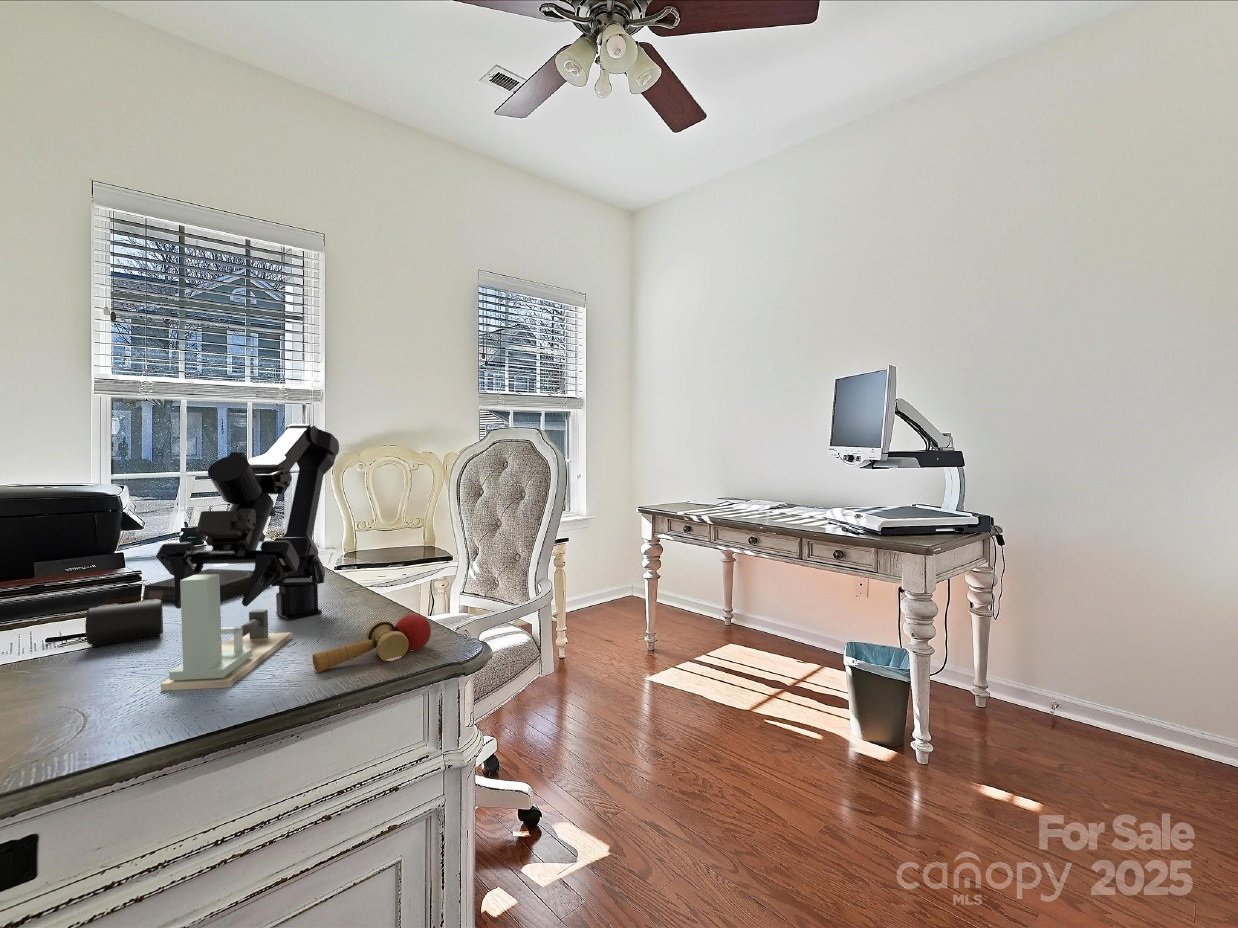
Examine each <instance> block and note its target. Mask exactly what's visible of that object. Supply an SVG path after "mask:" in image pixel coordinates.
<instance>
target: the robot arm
mask: <svg viewBox="0 0 1238 928" xmlns="http://www.w3.org/2000/svg"><path fill="white" fill-rule="evenodd" d="M339 451H340V444H339V440H338V438H336V437H335V435H333V434H332V433H330V432H329V431H325V430H323V429H319V428H318V427H317V426H316V425H314V424H313V425H312V424H311V423H297V424H296V423H291V424H288V425H286V427H285V430H284V433H283V434H281V436H280V437H279V438H278V439H277V440H276V442H274V444H273V445H272V446H271V447H270V448H269V450H267V452H266V453H264V454H261V455H258V456H255V457H251V458H249V460H248V458H247V455H246V453H245V451H230V453H229V455H228V456H225V457H222V458H219V459H218V460H216V461H215V462H214V463H213V464H210V465H209V467H208V469H207V475H208V477H209V479H210V481H211V482H212V484H213V486H214V487H215V489H216V491H217V492H218V494H219V495H220V497H221V498H222V500H223V501H224V502H226V503H227V504H230V505H231V506H230V509H229V510H202V511H201V512H200V515H199V519H198V523H197V527H196V533H197V534H198V535H199V534H201V535H203V536H205V537H206V539H205V544H207V545H208V546H210V547H212V549H211V550H198V548H196V546H195V545H194V544H193V542H191V541H190V542H168V543H167V542H166V543H163V544H162V545H161V546H160V547H159V550H158V551H157V553H156V555H155V557H156V559H157V560H158V561H159V562H160V563H161V565H162V566H163V567H164V568H165V569H166V570H167V571H168V573H169V574H170V575H172V576H173V578H174V581H175V588H174V603H173V604H174V607H175V608H176V609H180V610H181V588H180V580H183V579H185V578H188V577H190V576H193V575H197V574H198V573H200V572H201V571H203V567H204V565H212V564H213V565H215V564H216V565H217V564H221V565H222V564H228V565H245V564H246V565H252V564H254V569H253V571H254V572H253V574H252V576H251V579H250V581H249V583H248V586H247V588H246V591H245V593H244V595H242V596H243V597H242V600H241V604H242V606H243V607H248V606H249V605H250V604H251V603H252V602H254V600H255V599H257V598H258V597H259V596H260V595H261V594H262V593H263V592H264V591H265V590H267V589H268V588H269V587H270V586H271V587H278V592H276V593H275V600H276V601H275V602H276V603H275V604H276V612H275V614H276V615H278V616H280V617H282V618H284V619H286V620H293V619H299V618H304V617H309V616H312V615H317V614H321V613H322V612H323V610H322V609H321V608H319V585H320V584H324V583H325V577H326V568H325V567H324V565H323V563H322V561H321V559H320V557H319V549H318V548H317V547H318V546H316V543H315V542H314V539H313V535H314V531H315V530H314V529H315V526H316V525H315V524H316V519H317V513H318V508H319V507H318V506H319V503H320V497H321V493H322V492H321V491H322V485H323V481H324V476H325V474H326V473H328V471H330V469H331V468H332V467H333V466H334V464H335V462H336V461H335V460H336V458H337V456H338V455H339ZM295 464H296V465H297V466H298V474H297V479H296V483H295V488H294V491H293V497H292V503H291V508H290V513H289V518H288V522H287V528H286V532H285V533H284V535H282V536H281V537H276V538H274V540H266V541H265V539H266V535H265V534H264V531H265V528H266V525H267V522H268V520H269V517H275V516H276V509H275V507H274V505H275V502H274V500H273V499H272V496H270V495H283V494H285V493H286V492H287V490H288V489H289V487H290V486H291V483H292V479H293V476H292V473H291V469H293V467H294V466H295ZM260 542H261V544H260ZM259 544H260V549H259V550H258V545H259Z"/></svg>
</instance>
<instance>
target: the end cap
mask: <svg viewBox="0 0 1238 928" xmlns="http://www.w3.org/2000/svg"><path fill="white" fill-rule="evenodd" d="M163 612H164V610H163V603H162V600H159V599H153V598H152V599H151V600H143V599H142V600H138V601H137V602H131V603H123V604H119V603H115V602H113V603H111V604H106V603H103V604H102V605H99V606H98V605H97V607H89V608H88V609H87V611H86V614H85V639H86V642H87V644H88V645H91V647H92V648H97V647H102V646H109V645H110V646H111V645H116V644H125V643H129V642H135V641H143V640H149V639H157V638H160V637H161V635H162V634H163V633H164V616H163V615H164V613H163Z"/></svg>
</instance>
